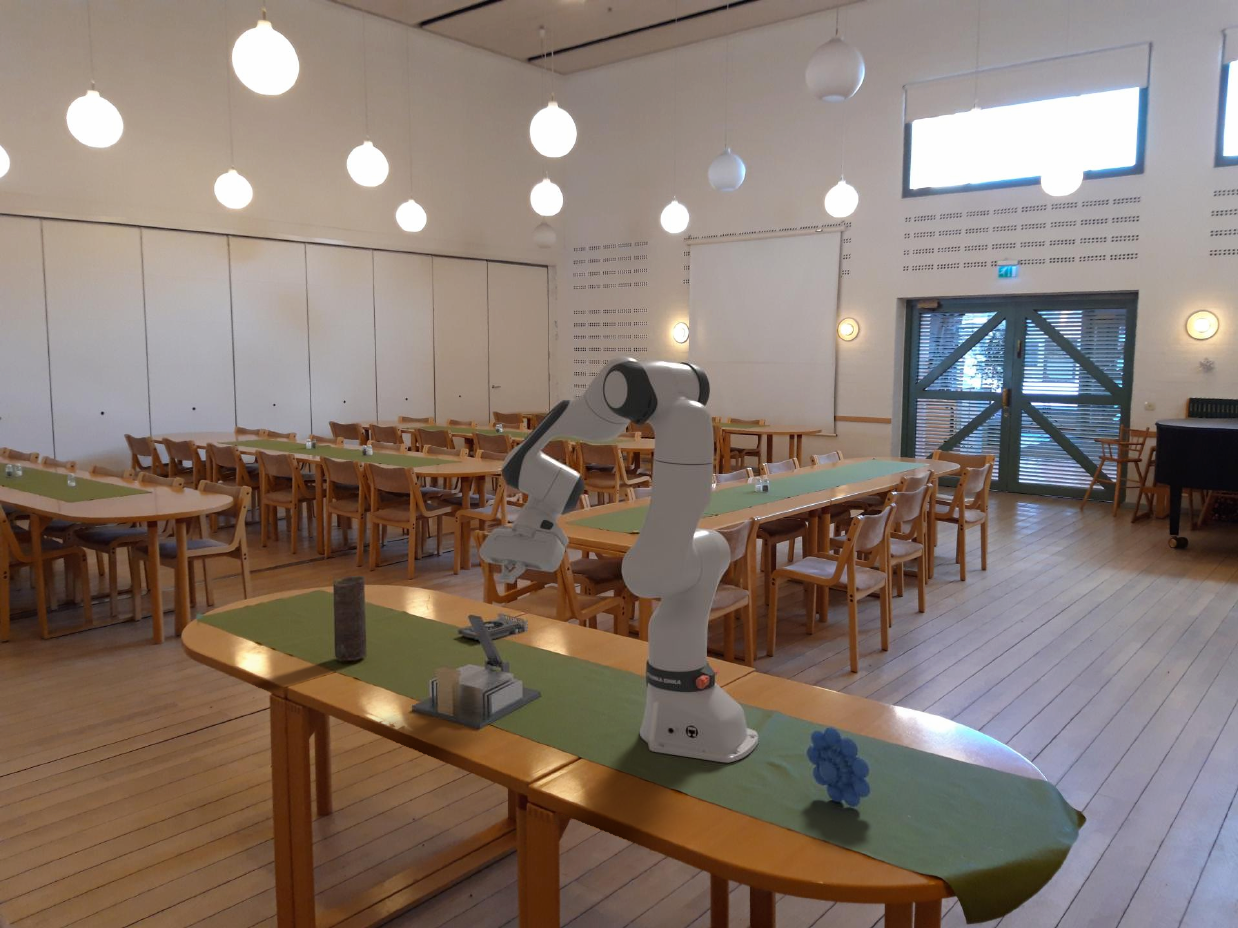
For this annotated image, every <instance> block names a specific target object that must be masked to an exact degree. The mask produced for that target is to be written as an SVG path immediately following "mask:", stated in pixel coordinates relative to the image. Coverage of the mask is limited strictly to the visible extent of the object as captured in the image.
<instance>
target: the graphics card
mask: <svg viewBox="0 0 1238 928" xmlns="http://www.w3.org/2000/svg"><path fill="white" fill-rule="evenodd" d="M483 622H484V624H485V626H486V628H487V630H488V632H489V634H490V636H491V639H492V640H494V639H497V638H499V639H500V640H501V639H506V638H509V637H513V636H515V635H519V634H523V633H525V632H528V631H529V620H528V619H526V620H525V619H523V618H520V617H518V616H517V617H516V616H512V615H509V614H505V613H501V612H499V613H497V618H495V619H490V620H487V621H486V620H485V621H483ZM457 633H458V635H462V636H463V637H466V638H471V639H474V640H473V641H474V642H478V640H479V639H478V637H477V635H476V633H475V631H474V629H473V627H472V625H469V626H465V627H462V628H458V630H457Z"/></svg>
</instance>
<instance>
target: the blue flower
mask: <svg viewBox="0 0 1238 928" xmlns="http://www.w3.org/2000/svg"><path fill="white" fill-rule="evenodd" d="M810 739H811V744H812V745H809V747H807V749H806V756H807V759H808V761H809V762H810V763H811V764H812V765H814V767H813V770H812V776H813V779H814V781H815V782H816V783H817V784H818V785H820V786H822V787H823V786H826V794H827V795H828V797H829V798H830V799H831V800H832V801H834V802H836V803H839V802H842V801H843V802H844V803H846V805H848V807H849V806H850V808H851V807H852V808H853V807H859V806H858V805H860V803H861V802H860V801H861V798H867V797H868V796H870V794H871V786H870V784H869V782H868V781H867V780H866V778H867V777H868V776H869V774H870V767H869V764H868V763H867V761H866V760H865V759H864V758H862V757H859V756H858V752H859V749H858V746H857V744H856V742H855V741H854V739H851V738H849V737H843V738H842V735H841V733H840V731H838V730H837V729H836V728H834V727H832V726H831V727H830V726H829V727H827V728H825V730H824V732H823V731H822V730H819V729H818V730H814V731H813V732H812V733H811V735H810Z"/></svg>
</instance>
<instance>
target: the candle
mask: <svg viewBox="0 0 1238 928" xmlns="http://www.w3.org/2000/svg"><path fill="white" fill-rule="evenodd" d="M332 584H333V585H332V586H333V588H332V589H333V616H334V618H333V619H334V620H333V623H334V625H333V626H334V629H333V630H334V632H333V633H334V656H335V657H334V658H335V659H336V660H338V661H340V662H350V661H357V660H360V659H363V658H365V657H367V656H368V655H367V654H368V653H367V646H368V645H367V626H366V624H367V623H366V596H365V595H366V594H365V592H366V591H365V587H366V585H365V577H364V576H361V575H355V576H347V577H344V578H336V579H334V581H333V583H332Z"/></svg>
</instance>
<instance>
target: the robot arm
mask: <svg viewBox="0 0 1238 928" xmlns="http://www.w3.org/2000/svg"><path fill="white" fill-rule="evenodd" d="M709 381H710V380H709V379H708V376H707V374H706V373H705V371H704V370H703V369H702V368H701V367H699V366H697V365H695V364H692V363H689V362H683V361H682V362H675V361H667V360H660V359H648V360H647V359H645V360H637V359H635V358H633V357H631V356H626V355H622V356H621V355H620V356H619V355H618V356H615V357H613V358H611V359H610V360H609V361H607V362H606V364H604V366H603V367H602V368H601V369H600V370H599V371H598V372H597V374H596V375H595V377H593V378H592V380H591V381H590V383H589V385H588V386H587V388H586V390H585V391H584V392H583V394H582V395H580V396H578V397H576V398H574V399H571V400H570V399H563V400H562V401H560V402H558V404H556V405H555V406H554V407H553V408H552V409H551V410H550V411H549V412H548V413H547V414H546V415H544V417H543V419H541V421H539V422H538V424H537V425H536V426H534V428H533V429H532V430H531V431H530V433H529V434H528V435H527V436H526V437H525V438H524V439H523V440H521V442H520V443H519V444H518V445H517V446H515V447H514V448H513V449H512V450H510V452H509V453H508V454H507V455H506V457H505V458H504V461H503V463H502V466H501V475H502V478H503V480H504V483H505V485H506V486H509V488H510V487H511V488H513V489H515V490H518V491H521V492H523V493H524V494H527V495H528V497H527V501H526V503H525V504H524V505H523V506H522V508H521V509H520V511H519V512H518V515H517V517H516V518H515V520H514V522H513V523H512V525H511V526H506V525H500V526H498V527H496V528H493V530H492V531H491V532H490V533H489V534H488V535H487V537H486V538H485V540H484V541H483V542H482V544H481V546H480V547H479V550H478V555H479V556H480V557H481V559H482V560H483V561H484V562H485V563H487V564H488V563H489V564H495V565H501V573H500V576H499V580H500V582H502V583H508V584H514V583H515V581H516V579H517V578H519V576H520V575H523V573H525V571H526V569H530V570H535V571H543V572H548V573H549V572H550V573H553V572H555V571H556V570H558V568H559V567H560V565H561V563H562V561H563V559H564V556H565V553H566V549H565V548H566V547H567V546H568V545H569V542H570V540H569V538H568V536H567V535H566V533H565V532H564V530H563V529H562V528H561V526H559V524H558V520H559V518H560V516H565V515H566V514H569V513H572V512H574V511H575V509H576V507H577V505H578V503H579V499H580V497H581V496H582V494H583V493H584V491H585V489H586V486H585V481H584V479H583V476H582V474H580V473H579V472H578V471H576V470H575V469H573V468H572V467H570V466H568V465H566V464H564V463H562V462H560V461H558V460H556V459H554V458H552V457H551V456H549V455H547V454H546V453H544V452H543V451H542V450H543V449H544V448H545V446H546V445H548V443H550V441H551V440H552V439H553V438H556V437H570V438H575V439H579V440H584V441H586V442H587V441H588V442H593V443H604V442H609V441H612V440H615V439H616V438H617V437H619V436H620V435H621V434H623V432H624V431H625V429H626V428H627V427H628V426H629V425H630V423H631V422H632V423H633V424H634V425H637V426H642V425H644V424H645V423H646V422H647V423H648V424H649V425H650V426H651V428H652V430H653V432H654V449H653V462H652V463H653V465H652V466H653V467H652V482H651V493H650V500H649V505H648V509H647V511H646V512H647V513H646V515H645V518H644V521H643V524H642V527H641V528H640V531H639V534H638V535H637V538H636V540H635V541H634V542H633V544H632V545H631V547H630V548H629V549H628V550H627V551H626V553H624V556H623V558H622V563H621V574H622V579H623V581H624V583H625V585H626V588H628V590H629V591H630V593H632V594H633V595H635V596H637V597H639V598H643V599H644V598H645V599H660V601H659V604H658V606H657V608H656V609H655V610H654V612H653V614H652V615H651V617H650V619H649V622H648V627H647V628H648V629H647V630H648V636H647V637H648V647H647V649H648V653H647V654H648V659H647V660H646V663H645V664H646V665H645V683H646V685H645V686H646V688H647V691H646V692H647V693H646V701H645V708H644V714H643V719H642V722H641V725H640V729H639V735H640V737H641V739H642V740H644V741H645V742H646V743H647V745H648V746H647V747H648V749H649V750H650V751H651V752H655V753H660V754H667V755H675V756H680V757H686V758H692V759H693V758H694V759H700V760H706V761H713V762H720V763H732V762H736V761H738V760H741V759H743V758H745V757H746V756H747V755H749V754H751V753H752V752H753V751H754V750H755V748H756V747H757V745H758V743H759V734H758V732H757V731H756V730H754V729H751V728H749V727H747V719H746V715H745V711H744V709H743V707H742V706H741V705H740V704H739V703H738V702H737V701H736V700H735V699H734V698H733V697H732V696H731V695H729V694H728V693H727V692H726V690H724V689H722V687H721V686H719V685H718V684H717V683H716V676H718V675H719V673H720V672H719V670H720V667H716V668H714V669H713V668H712V666H711V665H710V664H709V661H708V659H707V657H708V656H707V651H708V650H707V649H708V648H707V647H708V625H709V619H710V614H711V609H712V605H713V602H714V598H715V595H716V591H717V588H718V586H719V583H720V581H721V580H722V578H723V575H725V573H726V571H727V570H728V568H729V566H730V564H731V559H732V558H731V557H732V555H731V554H732V553H731V552H732V551H731V548H730V545H729V542H728V540H727V539H726V538H725V537H724V535H722V534H721V533H720V532H718V531H716V530H714V529H708V528H699V527H698V525H699V523H700V521H701V518H702V517H703V515H704V514H705V512H706V511H707V510H708V508H709V507H710V506H711V501H712V490H713V477H714V473H713V472H714V459H715V454H714V453H715V446H714V445H715V444H714V443H715V441H714V427H713V421H712V420H713V419H712V415H711V412H710V410H709V409H708V407H707V406H706V405H707V403H708V402H709V399H710V394H711V393H710V391H711V387H710V386H711V385H710V382H709ZM513 567H515V568H514V569H512V568H513ZM511 570H512V571H511Z"/></svg>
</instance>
